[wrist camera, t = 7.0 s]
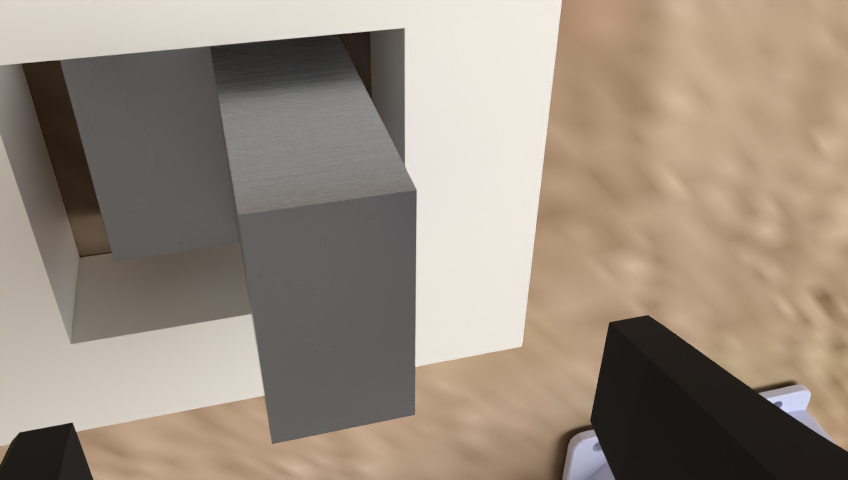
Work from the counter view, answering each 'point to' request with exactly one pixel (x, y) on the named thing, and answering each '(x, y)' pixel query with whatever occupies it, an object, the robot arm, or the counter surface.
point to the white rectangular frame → (222, 265)
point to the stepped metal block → (269, 208)
